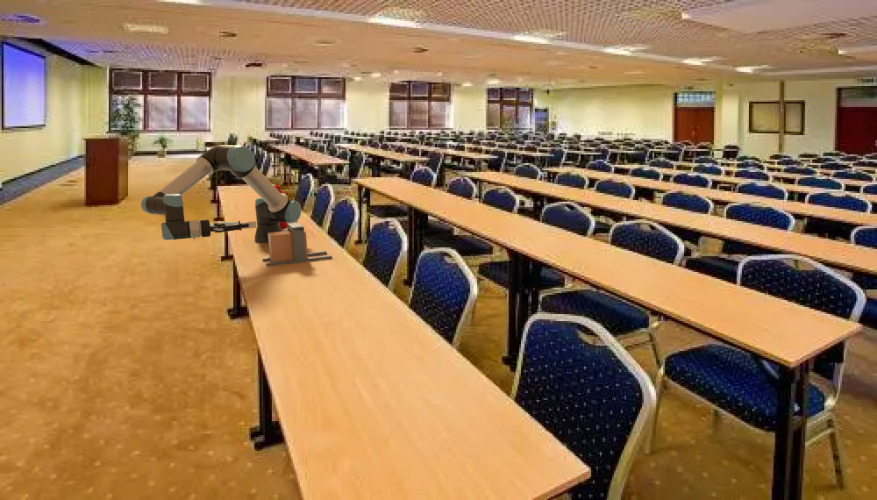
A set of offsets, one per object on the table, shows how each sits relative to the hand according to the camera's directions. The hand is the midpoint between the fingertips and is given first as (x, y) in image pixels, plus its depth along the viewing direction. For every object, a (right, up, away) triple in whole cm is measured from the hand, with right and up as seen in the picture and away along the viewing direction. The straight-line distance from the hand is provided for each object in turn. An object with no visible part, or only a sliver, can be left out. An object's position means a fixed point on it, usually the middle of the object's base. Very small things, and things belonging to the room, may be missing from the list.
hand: (255, 224), depth 277 cm
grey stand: (+17, -16, +8) cm, 25 cm away
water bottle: (-10, +1, +83) cm, 83 cm away
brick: (+13, -16, +7) cm, 22 cm away
